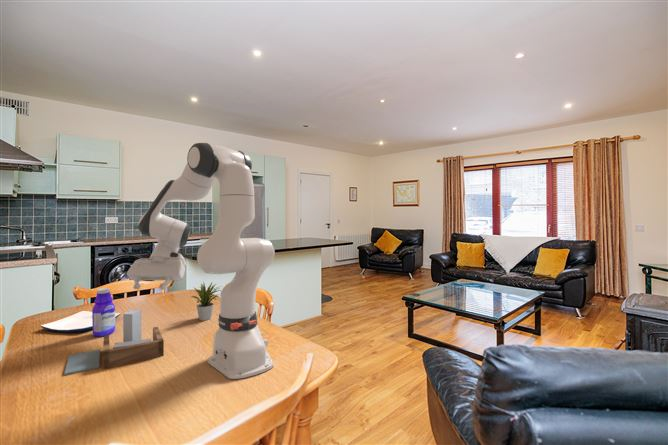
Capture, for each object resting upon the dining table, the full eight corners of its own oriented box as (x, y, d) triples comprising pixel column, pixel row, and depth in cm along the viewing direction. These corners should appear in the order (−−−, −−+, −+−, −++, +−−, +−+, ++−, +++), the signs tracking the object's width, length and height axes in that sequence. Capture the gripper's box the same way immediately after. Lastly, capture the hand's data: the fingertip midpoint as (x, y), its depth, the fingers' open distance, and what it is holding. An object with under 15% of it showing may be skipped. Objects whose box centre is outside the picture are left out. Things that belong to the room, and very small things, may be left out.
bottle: (101, 338, 116) (101, 291, 115) (88, 336, 117) (88, 290, 116) (118, 331, 123) (118, 287, 122) (106, 329, 124) (106, 286, 124)
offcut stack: (154, 356, 103) (154, 342, 103) (110, 363, 98) (110, 348, 98) (155, 351, 107) (155, 337, 107) (113, 357, 102) (113, 343, 101)
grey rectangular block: (141, 346, 110) (141, 309, 109) (132, 352, 105) (132, 314, 104) (132, 346, 110) (132, 309, 109) (123, 352, 105) (123, 314, 104)
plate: (125, 318, 139) (125, 312, 139) (83, 336, 118) (83, 329, 118) (83, 315, 141) (82, 310, 141) (35, 333, 121) (35, 326, 120)
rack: (163, 355, 103) (163, 340, 103) (103, 368, 94) (103, 352, 94) (157, 340, 115) (157, 326, 115) (103, 350, 106) (103, 336, 106)
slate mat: (99, 367, 94) (99, 365, 94) (64, 375, 90) (64, 373, 90) (100, 350, 106) (100, 349, 106) (69, 356, 101) (69, 355, 101)
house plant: (214, 325, 131) (214, 286, 130) (181, 324, 131) (181, 286, 130) (226, 314, 145) (227, 279, 144) (197, 313, 145) (197, 278, 145)
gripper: (133, 253, 123) (116, 283, 114) (185, 254, 124) (172, 284, 114) (140, 262, 128) (124, 292, 118) (190, 263, 128) (178, 293, 119)
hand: (148, 288), depth 116 cm, fingers open, 8 cm apart
